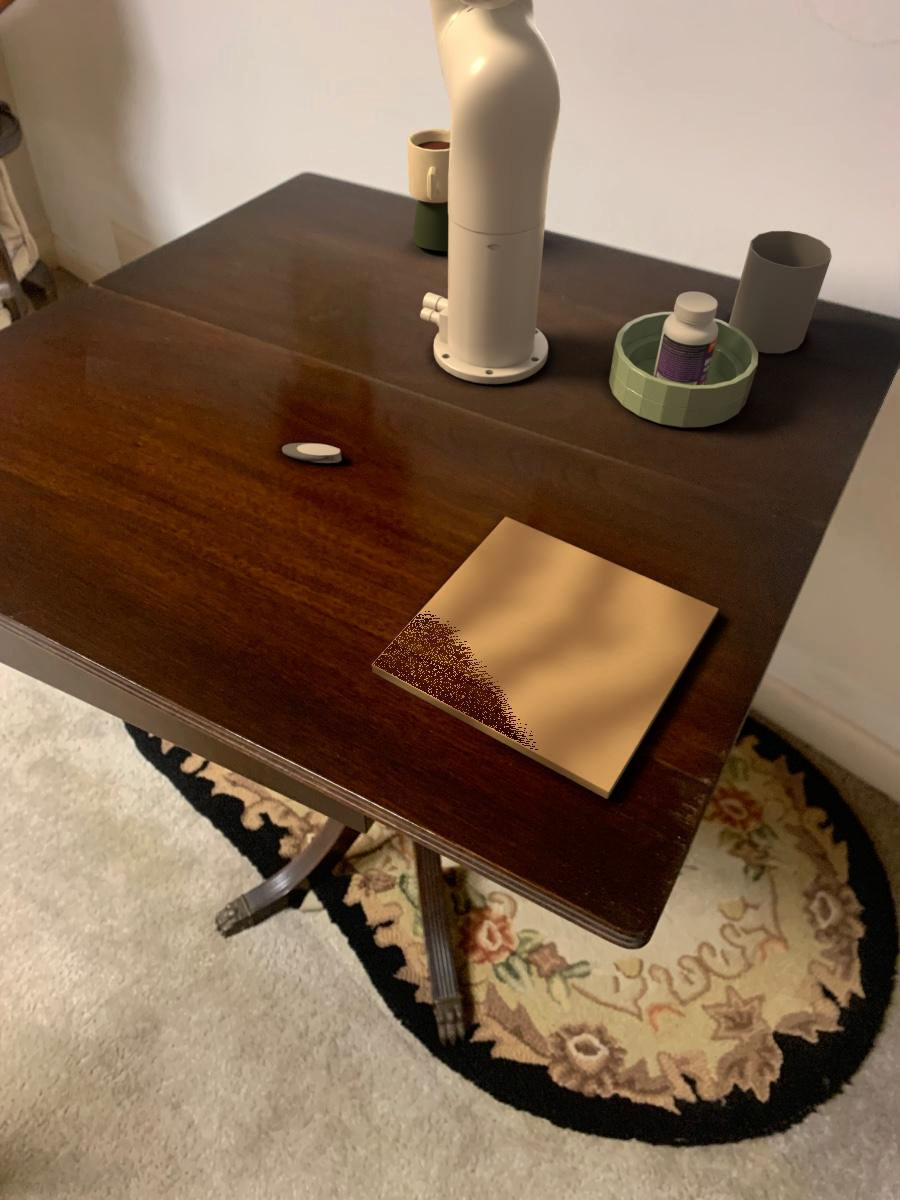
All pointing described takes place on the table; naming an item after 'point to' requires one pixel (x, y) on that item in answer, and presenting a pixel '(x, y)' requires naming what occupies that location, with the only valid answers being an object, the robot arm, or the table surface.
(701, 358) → the pill bottle
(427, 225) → the character mug
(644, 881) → the table surface
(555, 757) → the mat
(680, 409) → the bowl
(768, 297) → the cup
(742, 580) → the table surface
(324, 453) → the oval pebble
